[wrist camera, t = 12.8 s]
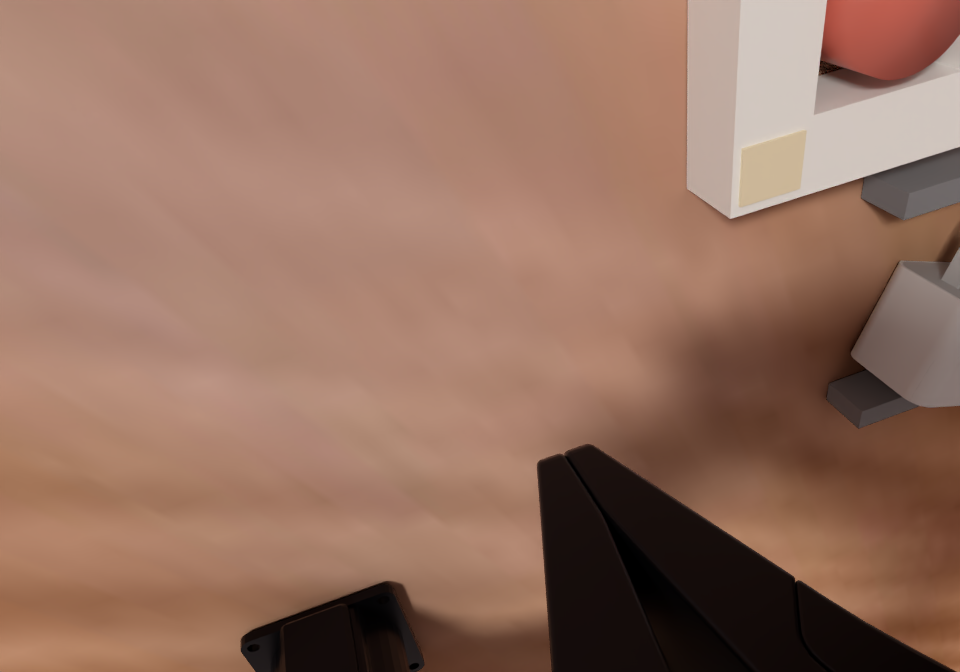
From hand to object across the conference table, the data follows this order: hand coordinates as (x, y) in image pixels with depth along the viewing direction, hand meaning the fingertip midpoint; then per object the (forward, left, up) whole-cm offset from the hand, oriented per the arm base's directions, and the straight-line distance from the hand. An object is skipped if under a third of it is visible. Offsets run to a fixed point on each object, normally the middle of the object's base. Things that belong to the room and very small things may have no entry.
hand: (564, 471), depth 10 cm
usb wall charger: (-10, -19, -12) cm, 25 cm away
